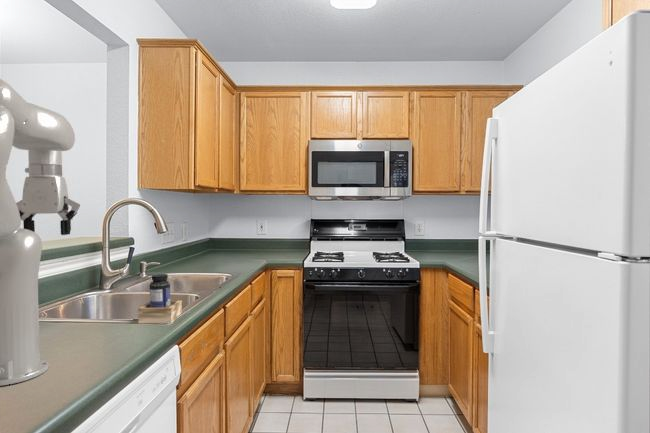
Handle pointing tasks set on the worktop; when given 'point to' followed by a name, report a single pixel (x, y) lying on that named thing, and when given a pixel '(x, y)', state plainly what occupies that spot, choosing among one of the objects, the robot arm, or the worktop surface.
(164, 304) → the pill bottle
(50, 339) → the worktop surface
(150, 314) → the wooden tray
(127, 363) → the worktop surface
